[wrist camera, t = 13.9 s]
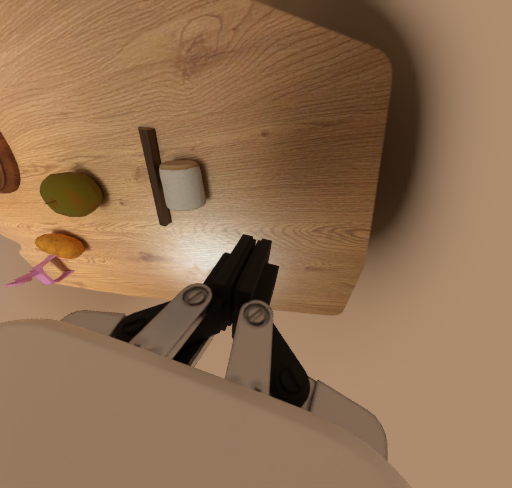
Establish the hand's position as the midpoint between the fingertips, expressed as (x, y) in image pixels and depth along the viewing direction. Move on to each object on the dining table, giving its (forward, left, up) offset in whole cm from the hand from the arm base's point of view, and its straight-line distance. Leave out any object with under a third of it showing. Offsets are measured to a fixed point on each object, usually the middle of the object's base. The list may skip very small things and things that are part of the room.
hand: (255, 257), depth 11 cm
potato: (+75, -9, -27) cm, 80 cm away
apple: (+48, -16, -27) cm, 57 cm away
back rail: (+28, -9, -27) cm, 40 cm away
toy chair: (+95, -4, -27) cm, 99 cm away
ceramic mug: (+22, -6, -27) cm, 35 cm away
